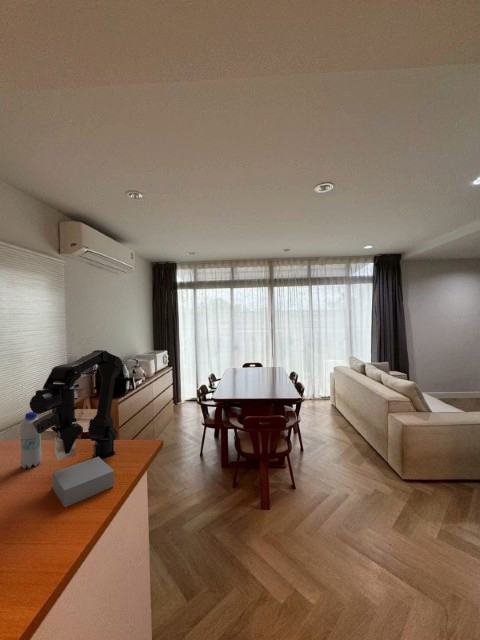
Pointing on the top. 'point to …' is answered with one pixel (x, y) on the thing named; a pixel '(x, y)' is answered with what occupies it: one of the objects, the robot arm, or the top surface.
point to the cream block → (60, 449)
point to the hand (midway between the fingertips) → (65, 450)
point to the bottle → (30, 442)
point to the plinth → (82, 480)
